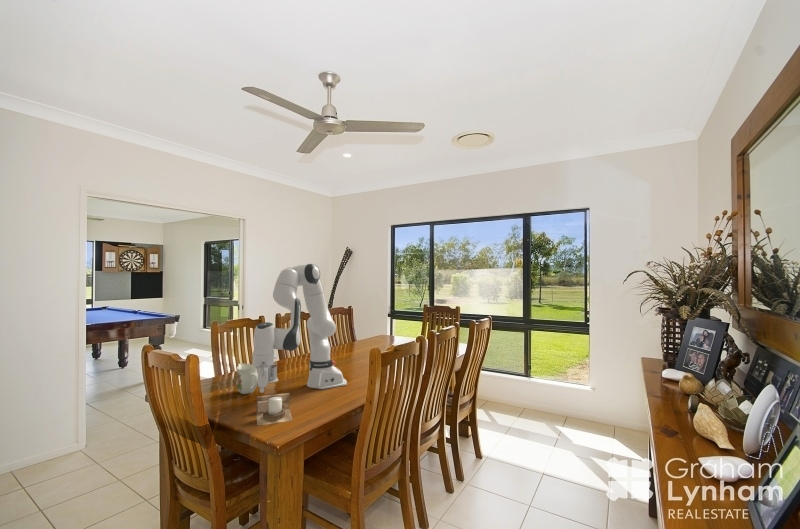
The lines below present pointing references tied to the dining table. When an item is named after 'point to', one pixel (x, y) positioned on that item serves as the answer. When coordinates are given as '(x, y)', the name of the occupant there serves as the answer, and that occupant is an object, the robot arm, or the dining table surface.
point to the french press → (272, 372)
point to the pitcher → (246, 378)
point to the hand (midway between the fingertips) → (261, 391)
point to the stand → (282, 417)
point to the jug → (271, 406)
